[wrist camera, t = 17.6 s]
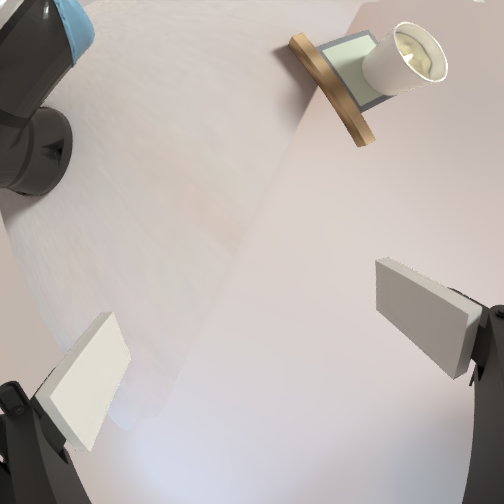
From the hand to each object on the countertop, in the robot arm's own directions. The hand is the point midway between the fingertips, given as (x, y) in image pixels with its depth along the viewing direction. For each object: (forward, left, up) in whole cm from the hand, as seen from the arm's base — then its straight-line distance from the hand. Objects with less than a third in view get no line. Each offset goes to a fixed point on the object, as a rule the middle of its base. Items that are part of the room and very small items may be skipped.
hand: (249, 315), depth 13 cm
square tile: (-11, +32, -29) cm, 45 cm away
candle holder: (-9, +35, -28) cm, 46 cm away
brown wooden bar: (-10, +24, -29) cm, 39 cm away
